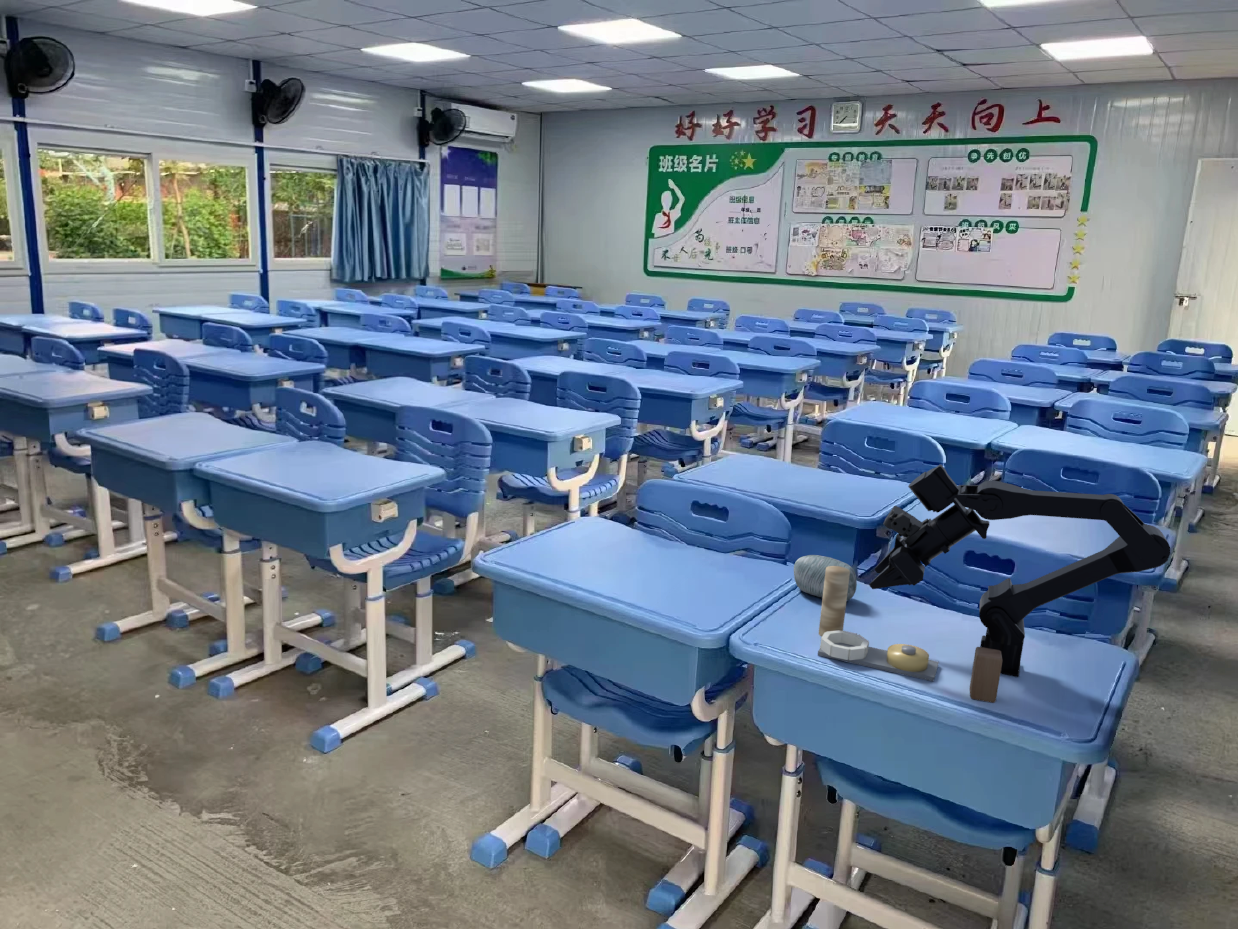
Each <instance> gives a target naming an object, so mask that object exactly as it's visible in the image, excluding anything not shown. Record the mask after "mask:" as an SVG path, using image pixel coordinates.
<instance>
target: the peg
mask: <svg viewBox="0 0 1238 929" xmlns="http://www.w3.org/2000/svg"><path fill="white" fill-rule="evenodd" d="M849 576H850V570H849V569H847V568H844V567H840V566H828V567H826V572H825V581H824V590H823V598H821V599H822V600H821V608H820V609H821V610H820V617H819V618H820V619H819V627H818V635H819V637H820V638H821V637H822V636H823V634H824V633H825V632H827V631H837V630H840V631H842V630H843V631H844V625H845V624H844V623H845V617H846V608H847V602H848V601H847V592H848V584H849Z"/></svg>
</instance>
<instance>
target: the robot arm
mask: <svg viewBox="0 0 1238 929" xmlns="http://www.w3.org/2000/svg"><path fill="white" fill-rule="evenodd" d="M907 487H908V488H909V490H910V491H911V493H913V494H914V496H915V497H916V498H917V499H918V501H920V503H921V504H922V505H923V506H924V507H925V509H926V510H927V512H931V511H932V512H933V513H937V514H938V513H940V512H942V513H940V514H939V515H936V516H935V517H934V518H926V519H924V520H923V521H921V520H919V519H918V518H916V516H914V515H913V514H911V513H909V512H908V511H905V510H904V509H902V508H901V507H899V506H897V505H894V506H893V507H892V508H891V510H890V511H889V513H888V514H887V516H886V517H885V519H884V521H883V526H884V527H885V528H887V529H889V530H892V531H893V532H896V533H897V534H896V536H895V539H894V547H892V549H891V550H890V551H889V553H887V554H886V556H884V557H883V559H882V560H881V561H880V562H879V563H877V565H876V566H875V567H874V571H875V572H876V573H877V574H878V575H877V576H876V577H875V578H874V579H873V580H872V581H871V582H870V583H869V584H868V586H869V587H870V588H871V589H872V590H878V589H884V588H890V587H891V588H892V587H898V586H907V585H908V586H912V585H913V586H916V585H917V584H919V583H920V582H922V581H923V579H924V576H925V575H924V574H925V570H926V567H927V566H929V565H930V564H931V561H932V560H933V559H935V558H936V557H938V556H940V555H941V554H943V553H944V555H946V554H947V553H949V552H950V550H951V547H953V546H954V545H956V544H957V543H959V542H960V541H962V540H964V539H965V538H967V537H968V536H970V535H971V534H973V533H975V532H976V533H977V534H978V536H980V537H981V538H982V539H983V540H986V539H987V537H988V536H987V535H988V534H987V533H988V530H989V527H990V521H997V520H998V521H999V520H1010V519H1015V518H1020V517H1026V516H1040V517H1054V518H1064V519H1065V518H1066V519H1067V518H1069V519H1081V520H1095V521H1096V520H1097V521H1104V522H1106V523H1107V524H1109V526H1110V527H1111V528H1112V530H1114V531H1115V533H1117V535H1118V537H1116V539H1115V540H1113V541H1112V542H1111V543H1110V544H1109V545H1108V546H1107V547H1105V548H1104V549H1102V550H1100V551H1097V552H1096V553H1093V554H1091V555H1089V556H1087V557H1084V558H1082V559H1079V560H1076V561H1075V562H1072V563H1070V564H1068V565H1065V566H1063V567H1061V568H1058V569H1056V570H1054V571H1052V572H1049V573H1047V574H1044V575H1042V576H1040V577H1037V578H1035V579H1033V580H1030V581H1028V582H1026V583H1017V584H1013V583H1012V582H1013V581H1012V580H1011V578H1010V577H1008V578H1006V579H1004V580H1002V581H1001V582H999V583H998V584H994V585H988V586H987V587H988V588H987V589H988V590H986V591H985V592H984V593H983V594H982V595H981V597H980V600H979V608H978V610H979V612H978V615H979V620H980V623H981V624H982V625H983V626H984V627H985V628H986V631H985V635H982V636H981V640H980V645H979V647H983V648H989V649H995V650H1000V651H1001V655H1002V667H1001V673H1000V675H1005V676H1006V675H1007V676H1011V677H1015V678H1016V677H1017V678H1018V677H1020V672H1021V661H1022V660H1021V659H1022V655H1023V648H1024V642H1025V637H1026V635H1025V634H1026V632H1025V622H1024V619H1025V618H1026V617H1027V616H1028V615H1030V614H1031V613H1032V612H1033V611H1034V610H1035V609H1037V608H1038V607H1041V606H1043V605H1047V603H1051V602H1053V601H1055V600H1057V599H1060V598H1062V597H1066V596H1067V595H1070V594H1073V593H1075V592H1077V591H1079V590H1082V589H1085V588H1086V587H1088V586H1091V585H1093V584H1096V583H1098V582H1101V581H1103V580H1105V579H1107V578H1110V577H1112V576H1115V575H1119V574H1128V573H1130V574H1131V573H1140V572H1144V571H1149V570H1152V569H1156V568H1160V567H1162V566H1163V565H1165V564H1166V563H1167V562H1168V560H1169V558H1170V556H1171V546H1170V543H1169V541H1168V539H1167V538H1166V537H1165V535H1164V534H1163V532H1162V531H1161V530H1160V529H1159V528H1158V527H1156V526H1154V525H1150V524H1146V523H1145V522H1144V521H1143V520H1142V519H1141V518H1140V517H1139V516H1138V515H1137V514H1135V513H1134V512H1133V511H1132V510H1131V509H1130V508H1129V507H1128V506H1127V505H1126V504H1124V502H1123V500H1122V499H1121V498H1120V497H1119V496H1118V495H1116V494H1113V493H1106V494H1097V493H1096V494H1094V493H1079V492H1077V493H1076V492H1065V491H1064V492H1063V491H1049V490H1048V491H1046V490H1034V489H1033V490H1032V489H1027V488H1024V487H1022V486H1018V485H1015V484H1012V483H1007V482H1002V481H998V480H985V481H983V482H982V483H980V484H979V485H978V484H959V485H957V484H956V482H955V481H954V480H953V479H952V477H951V476H950V475H949V474H948V472H947V470H946V468H945V467H944V466H943V464H939V465H937V466H936V467H933V468H931V469H929V470H928V471H924V472H923V473H921V474H919V475H918V476H917V477H916V478H915V479H914V480H912V481H911V482H910V483H909V484H908V486H907ZM952 504H953V505H952ZM949 506H950V507H949ZM948 507H949V508H948ZM946 508H947V509H946ZM945 509H946V510H945ZM983 519H985V520H983Z"/></svg>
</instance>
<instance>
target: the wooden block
mask: <svg viewBox="0 0 1238 929" xmlns="http://www.w3.org/2000/svg"><path fill="white" fill-rule="evenodd" d="M1001 667H1002V655H1001V651H1000V650H995V649H989V648H983V647H980V646H976V647H975V651H974V657H973V663H972V670H971V676H970V682H969V696H970V699H972V700H977V701H981V702H987V703H991V704H995V703H996V702H997V697H998V691H999V684H1000V679H1001V678H1000V677H1001Z"/></svg>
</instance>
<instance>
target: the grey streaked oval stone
mask: <svg viewBox="0 0 1238 929" xmlns="http://www.w3.org/2000/svg"><path fill="white" fill-rule="evenodd" d="M828 566H840V567H844V568H847V569H849V570H850V576H849V584H848V592H847V601H846V602H848V601H850V600H851V599H852V598H853V597H854V596H855V594H856V591H857V586H858V584H857V583H858V582H857V576H856V573H855V570H854V568H853V567H852V566H850V564H848V563H846V562H843V561H841V560H839V559H836V558H833V557H830V556H823V555H818V554H808V555H804V556H801V557H799V558H797V560H796V561H795V563H794V565H793V578H794V581H795V584H796V586H797V588H798V589H800V590H801V591H802V592H805V593H806V594H809V595H811V596H814V597H815V596H816V597H818V598H821V599H823V590H824V581H825V572H826V567H828Z"/></svg>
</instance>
